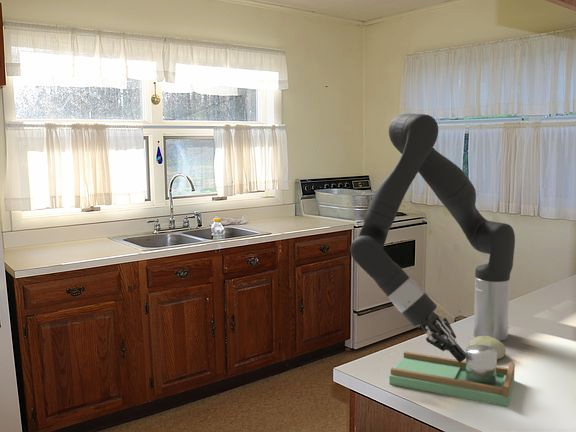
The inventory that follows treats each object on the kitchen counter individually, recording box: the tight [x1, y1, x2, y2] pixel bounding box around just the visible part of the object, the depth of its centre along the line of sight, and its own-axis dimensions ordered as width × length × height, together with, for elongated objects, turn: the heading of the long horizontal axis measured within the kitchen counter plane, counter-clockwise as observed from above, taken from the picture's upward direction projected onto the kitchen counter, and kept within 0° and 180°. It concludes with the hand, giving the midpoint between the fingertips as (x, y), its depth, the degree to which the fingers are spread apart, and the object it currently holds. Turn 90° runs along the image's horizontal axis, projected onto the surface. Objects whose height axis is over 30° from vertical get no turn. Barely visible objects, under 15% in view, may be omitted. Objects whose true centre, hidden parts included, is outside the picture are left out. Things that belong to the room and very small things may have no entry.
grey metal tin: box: [465, 345, 498, 386], centre depth 126 cm, size 7×7×8 cm
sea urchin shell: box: [468, 336, 507, 361], centre depth 144 cm, size 9×8×8 cm
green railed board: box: [388, 351, 516, 407], centre depth 129 cm, size 14×26×4 cm, turn 62°
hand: (463, 359), depth 127 cm, fingers closed
